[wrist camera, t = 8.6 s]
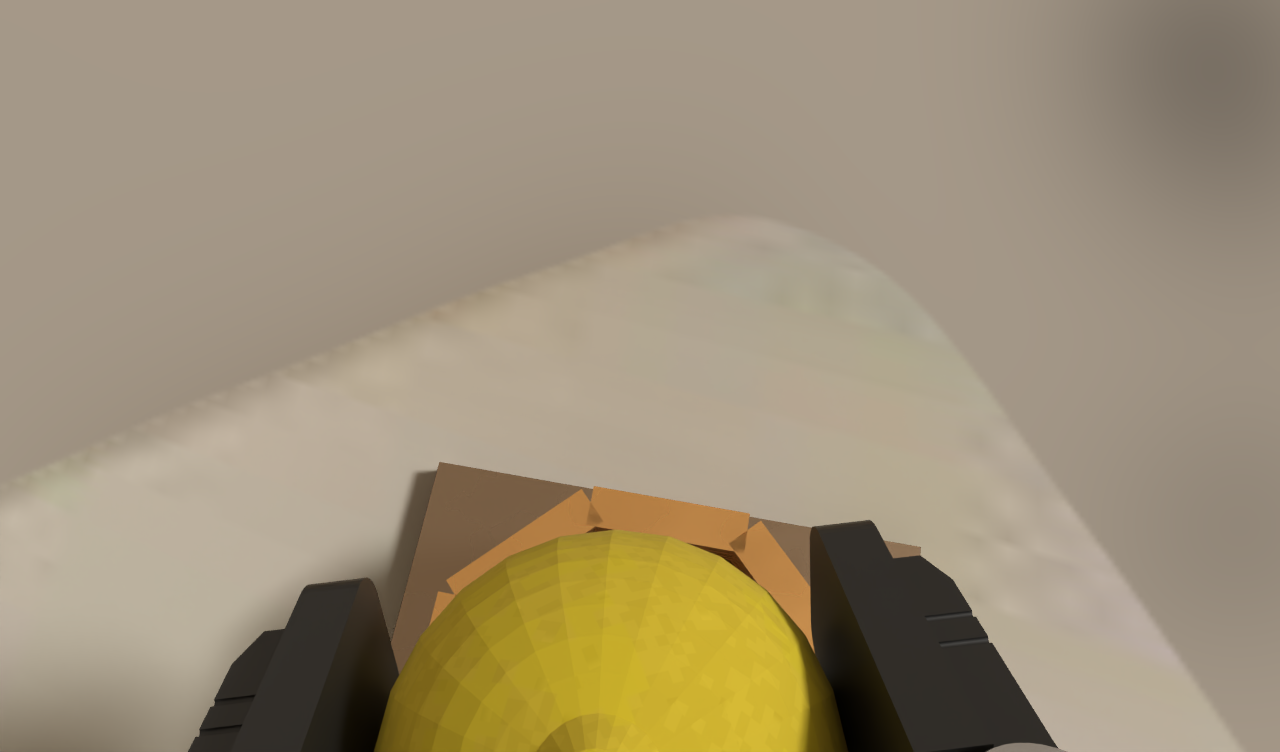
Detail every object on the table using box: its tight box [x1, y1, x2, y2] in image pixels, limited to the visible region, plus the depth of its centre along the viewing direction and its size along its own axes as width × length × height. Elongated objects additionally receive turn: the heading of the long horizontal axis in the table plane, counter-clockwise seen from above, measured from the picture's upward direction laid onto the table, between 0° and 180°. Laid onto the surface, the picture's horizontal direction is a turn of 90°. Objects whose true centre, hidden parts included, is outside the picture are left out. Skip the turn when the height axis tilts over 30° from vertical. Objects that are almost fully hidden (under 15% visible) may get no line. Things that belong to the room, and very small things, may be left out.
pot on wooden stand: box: [391, 462, 921, 674], centre depth 24 cm, size 16×13×8 cm
